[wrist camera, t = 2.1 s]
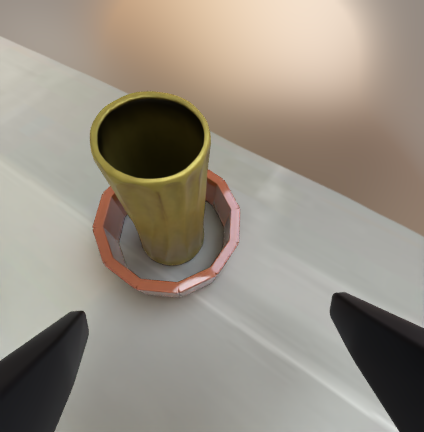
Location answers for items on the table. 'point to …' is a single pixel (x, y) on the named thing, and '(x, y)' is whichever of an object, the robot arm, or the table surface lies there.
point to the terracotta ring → (113, 259)
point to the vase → (156, 169)
